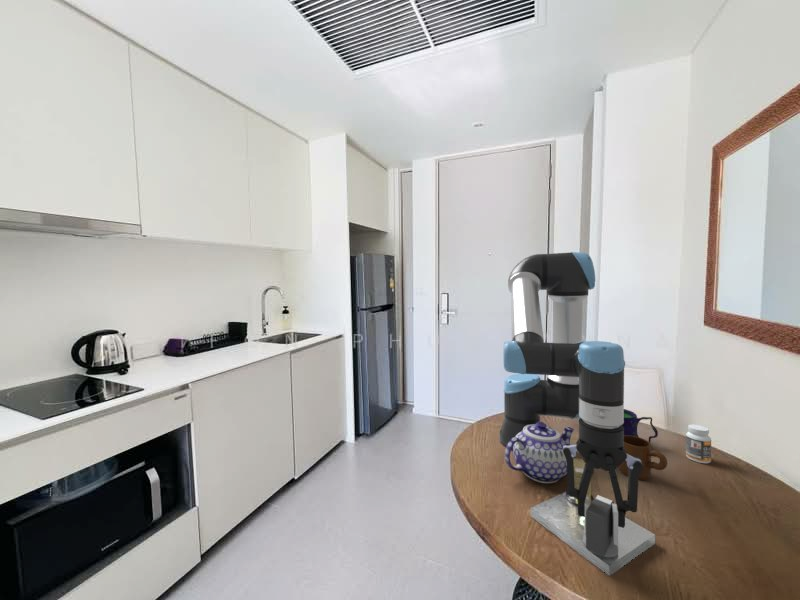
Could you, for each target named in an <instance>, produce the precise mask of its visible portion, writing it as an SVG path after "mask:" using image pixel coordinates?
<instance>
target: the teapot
mask: <svg viewBox="0 0 800 600" xmlns="http://www.w3.org/2000/svg"><path fill="white" fill-rule="evenodd" d="M574 430H575V429H574V428H573V427H570V426H569V427H568V426H566V427H564V428H563V431H562V433H561V434H560V432H559V431H558V430H557V429H555V428H553V427H550V426H548V425H547V424H546V423H545V422H543V421H540V422H537V423H536V424H532V425H527V426H525V427H524V428H523V430H522V431H521V432H519V433H518V434H517V435H516V436H515V437H513V438H512V439H511V440H510V441H509V443H508V444H507V447H506V446H505V451H504V461H505V463H506V465H507V467H509V468H510V469H512V470H514V471H519V472H522V473H523V474H524V475H525V476H526V477H527V478H528V479H530V480H533V481H535V482H537V483H542V484H553V483H554V484H555V483H556V482H558V481H559V480H560V479H562V478H563V477H565V476H566V475H567V460H566V458H565V455H564V453H563V445H564V444H568V445H571V437H572V434H573V432H574ZM512 447H513V450H512ZM511 452H512V453H513V459H514V460H513V461H515V464H516V465H513V464H512V463H511Z"/></svg>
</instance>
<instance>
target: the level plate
mask: <svg viewBox="0 0 800 600" xmlns="http://www.w3.org/2000/svg"><path fill="white" fill-rule="evenodd" d="M529 512H530V515H529V516H530V517H531V518H532V519H533V520H535V522H537V523H539V524H540V525H541V526H543V527H544V528H545V529H546V530H548V531H549V532H551V534H554V536H555V537H557V538H558V539H560V540H561V541H562V542H563V543H565V544H566V545H567V546H569V547H570V548H571V549H573V550H574V551H575V552H577V553H578V554H579V555H580V556H582V557H583V558H585V559H586V560H587V561H589V562H590V563H591V564H592V565H594V566H595V567H596V566H597V567H596V568H598V569H599V570H600V569H601V570H600V571H602V572H603V573H604V572H605V574H606V576H608V575H609V576H608V577H610V576H612V575H613V574H615V573H617V572H618V571H619V570H620V569H622V568H623V567H625V566H626V565H627V564H629V563H630V562H632V561H633V560H634V559H636V558H637V557H639V556H640V555H641V554H643V553H645V552H646V551H647V550H648V548H649V549H650V548H651V547H653V546H654V545H656V534H654V533H653V532H651V531H649V530H648V529H646V528H644V527H643V526H641V525H639V524H637V523H636V522H634V521H633V520H630V519H629V518H627V517H625V527H624V528H622V527H618V545H617V546H618V554H617V556H615V557H611V558H608V557H602V556H600V555H597V554H595V553H593V552H592V551H590V550H589V549H587V548H586V546H585V544H584V542H583V535H584V533H585V531H584V517H581V516H579V514H578V505H577V504H575V503H573V502H571V501H570V500H569V499H568V498H567V497H566V491H565V492H562V493H560V494H558V495H556V496H554V497H551V498H550V499H546V500H545V501H543V502H540V503H538V504H536V505H533V506H532V507H530V510H529ZM642 552H643V553H642ZM638 555H639V556H638ZM635 557H636V558H635ZM632 559H633V560H632ZM631 560H632V561H631ZM624 565H625V566H624Z"/></svg>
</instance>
